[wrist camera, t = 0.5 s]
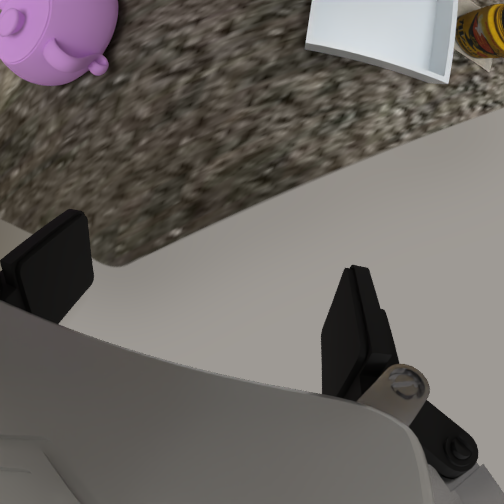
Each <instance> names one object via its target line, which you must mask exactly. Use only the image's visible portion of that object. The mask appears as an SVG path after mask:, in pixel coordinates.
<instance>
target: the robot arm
mask: <svg viewBox="0 0 504 504" xmlns="http://www.w3.org/2000/svg"><path fill="white" fill-rule="evenodd" d="M0 263H1V267H2V271H0V504H504V493H503V492H502V490H501V488H500V487H499V485H498V484H497V483H496V481H495V480H494V478H493V477H492V475H491V474H490V473H489V471H488V470H487V468H486V467H485V466H484V464H482V465H481V466H479V465H478V464H477V462H476V461H477V459H478V448H477V444H476V443H475V441H474V439H473V438H472V437H471V436H470V435H469V434H468V433H467V432H466V431H464V430H463V429H462V428H461V427H459V426H458V425H457V424H456V423H454V422H453V421H452V420H451V419H450V418H448V417H447V416H446V415H445V414H443V413H442V412H441V411H440V410H438V409H437V408H436V407H435V406H433V405H432V404H431V403H430V402H429V401H427V398H428V395H429V393H430V388H429V384H428V381H427V379H426V378H425V377H424V375H423V374H422V373H421V372H420V371H419V370H417V369H415V368H414V367H412V366H409V365H405V364H399V360H398V356H397V352H396V348H395V344H394V341H393V337H392V333H391V329H390V326H389V322H388V318H387V315H386V312H385V310H383V309H380V305H379V302H378V298H377V295H376V291H375V288H374V285H373V282H372V278H371V275H370V271H369V269H368V268H366V267H361V266H356V265H351V267H350V269H349V268H345V269H344V272H343V274H342V277H341V280H340V282H339V285H338V288H337V291H336V294H335V296H334V299H333V302H332V305H331V307H330V310H329V313H328V315H327V318H326V321H325V323H324V326H323V329H322V334H321V350H322V351H321V352H322V394H318V393H312V392H307V391H302V390H296V389H291V388H286V387H280V386H275V385H269V384H264V383H259V382H255V381H250V380H245V379H240V378H236V377H231V376H227V375H222V374H218V373H213V372H209V371H205V370H201V369H197V368H193V367H189V366H185V365H182V364H178V363H174V362H171V361H167V360H163V359H160V358H157V357H153V356H150V355H146V354H143V353H140V352H136V351H133V350H129V349H127V348H124V347H121V346H117V345H114V344H111V343H108V342H105V341H102V340H99V339H97V338H94V337H91V336H88V335H85V334H83V333H80V332H77V331H74V330H71V329H69V328H66V327H64V326H61V325H58V324H59V322H60V321H61V320H62V319H63V317H64V316H65V315H66V314H67V313H68V311H69V310H70V309H71V308H72V307H73V306H74V304H75V303H76V302H77V301H78V300H79V298H80V297H81V296H82V295H83V294H84V293H85V291H86V290H87V289H88V288H89V287H90V286H91V284H92V282H93V280H94V273H93V266H92V258H91V249H90V240H89V230H88V219H87V217H86V216H85V214H84V212H82V211H79V210H73V209H68V210H66V211H65V212H64V213H62V214H61V215H59V216H58V217H56V218H55V219H54V220H52V221H51V222H49V223H48V224H47V225H45V226H44V227H42V228H41V229H40V230H38V231H37V232H36V233H34V234H33V235H32V236H31V237H29V238H28V239H26V240H25V241H24V242H22V243H21V244H20V245H19V246H17V247H16V248H15V249H14V250H12V251H11V252H10V253H9V254H7V255H6V256H5V257H4V258H2V259H1V260H0Z"/></svg>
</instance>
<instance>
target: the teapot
mask: <svg viewBox="0 0 504 504" xmlns="http://www.w3.org/2000/svg"><path fill="white" fill-rule="evenodd" d="M0 9H1V10H2V12H1V14H0V58H1V60H2V61H3V63H4V64H5V65H6V66H7V67H8V68H9V69H10V70H11V71H13V72H14V73H15V74H16V75H18V76H19V77H21V78H22V79H24V80H27V81H29V82H31V83H35V84H39V85H45V86H56V85H63V84H66V83H69V82H71V81H74V80H75V79H77V78H79V77H80V76H82V75H83V74H84V73H86V72H87V71H88V70H90V72H91V73H93V74H94V75H96V76H100V75H102V74H104V73H105V72H106V71H107V69H108V66H109V64H108V60H107V59H106V57H105V56H103V55H102V54H103V53H104V51H105V49H106V48H107V46H108V44H109V42H110V40H111V38H112V36H113V33H114V30H115V27H116V23H117V18H118V0H0Z"/></svg>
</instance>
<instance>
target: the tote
mask: <svg viewBox="0 0 504 504" xmlns="http://www.w3.org/2000/svg"><path fill="white" fill-rule="evenodd" d="M457 11H458V0H312V4H311V11H310V17H309V23H308V30H307V36H306V43H305V50H310V51H316V52H321V53H326V54H330V55H335V56H339V57H344V58H348V59H352V60H356V61H360V62H364V63H367V64H371V65H375V66H378V67H382V68H385V69H388V70H391V71H395V72H398V73H401V74H404V75H407V76H410V77H413V78H416V79H419V80H421V81H424V82H427V83H437V84H448V82H449V76H450V70H451V64H452V57H453V49H454V42H455V33H456V23H457Z"/></svg>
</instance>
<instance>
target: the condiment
mask: <svg viewBox="0 0 504 504" xmlns="http://www.w3.org/2000/svg"><path fill="white" fill-rule="evenodd" d="M468 12H469V13H468ZM454 49H455V50H457V51H458V52H460V53H461V54H463V55H464V56H466V57H467V58H469V59H470V60H472V61H473V62H475V63H476V64H478V65H479V66H481V67H482V68H484V69H485V70H486V71H488V72H490V68H491V65H492V61H493V58H500V57H502V58H504V4H493V5H490V6H486V7H484V8H481V7H479V6H477V5H476V4H475V3H473V2H472V1H471V0H458V11H457V23H456V33H455V42H454Z"/></svg>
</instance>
